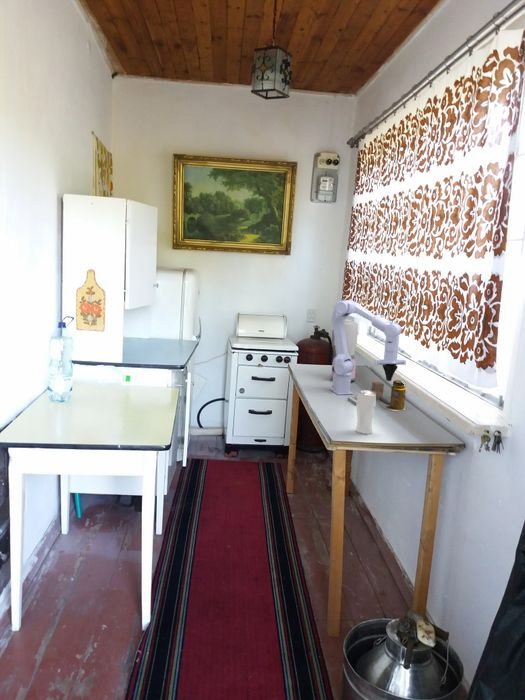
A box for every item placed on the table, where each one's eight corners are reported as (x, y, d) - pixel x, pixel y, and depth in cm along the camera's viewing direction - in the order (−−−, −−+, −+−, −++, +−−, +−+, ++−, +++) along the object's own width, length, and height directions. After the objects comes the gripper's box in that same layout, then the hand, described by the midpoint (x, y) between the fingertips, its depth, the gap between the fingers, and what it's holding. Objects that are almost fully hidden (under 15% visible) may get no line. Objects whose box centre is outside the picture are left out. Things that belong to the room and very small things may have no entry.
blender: (344, 376, 283) (348, 318, 277) (359, 382, 273) (364, 321, 267) (321, 379, 275) (325, 319, 269) (337, 385, 265) (341, 322, 259)
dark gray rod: (378, 399, 242) (378, 396, 242) (380, 399, 242) (381, 396, 242) (388, 404, 233) (388, 402, 233) (390, 404, 233) (391, 402, 233)
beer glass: (351, 431, 196) (354, 392, 193) (358, 427, 201) (362, 389, 198) (368, 435, 192) (372, 396, 189) (376, 431, 197) (379, 392, 195)
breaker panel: (347, 400, 238) (347, 395, 238) (363, 399, 240) (363, 394, 240) (357, 406, 229) (357, 401, 228) (373, 405, 231) (374, 400, 230)
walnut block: (370, 396, 246) (372, 382, 245) (378, 396, 247) (379, 381, 246) (374, 398, 242) (376, 384, 241) (382, 398, 243) (383, 383, 242)
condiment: (408, 409, 228) (410, 382, 226) (394, 411, 223) (397, 384, 221) (395, 404, 234) (398, 378, 232) (382, 407, 229) (384, 380, 227)
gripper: (380, 352, 228) (378, 383, 230) (410, 352, 232) (407, 382, 234) (373, 349, 234) (370, 379, 237) (402, 349, 238) (399, 378, 241)
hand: (388, 380), depth 236 cm, fingers closed
